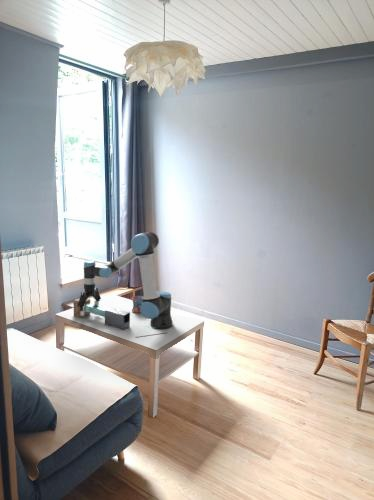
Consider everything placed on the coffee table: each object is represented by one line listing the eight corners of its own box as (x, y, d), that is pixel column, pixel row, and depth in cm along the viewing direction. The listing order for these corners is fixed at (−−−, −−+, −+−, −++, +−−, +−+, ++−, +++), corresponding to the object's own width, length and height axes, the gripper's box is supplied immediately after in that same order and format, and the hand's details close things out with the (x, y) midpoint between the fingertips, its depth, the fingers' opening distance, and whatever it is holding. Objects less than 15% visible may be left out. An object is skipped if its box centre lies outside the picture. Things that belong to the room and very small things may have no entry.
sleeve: (129, 327, 247) (130, 312, 245) (123, 330, 242) (123, 315, 240) (111, 321, 255) (111, 307, 253) (104, 324, 249) (104, 310, 247)
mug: (136, 314, 270) (137, 300, 268) (128, 311, 276) (129, 297, 274) (149, 310, 279) (149, 297, 277) (141, 307, 285) (141, 294, 283)
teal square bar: (114, 317, 253) (114, 308, 251) (108, 319, 248) (108, 311, 246) (83, 308, 266) (83, 300, 265) (77, 310, 261) (77, 302, 260)
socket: (90, 314, 265) (90, 299, 263) (82, 318, 258) (81, 302, 256) (82, 312, 269) (81, 297, 267) (73, 315, 262) (73, 300, 260)
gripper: (98, 278, 268) (97, 306, 272) (71, 286, 247) (72, 316, 251) (106, 280, 264) (105, 308, 268) (80, 288, 243) (80, 319, 247)
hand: (89, 312), depth 260 cm, fingers open, 13 cm apart
